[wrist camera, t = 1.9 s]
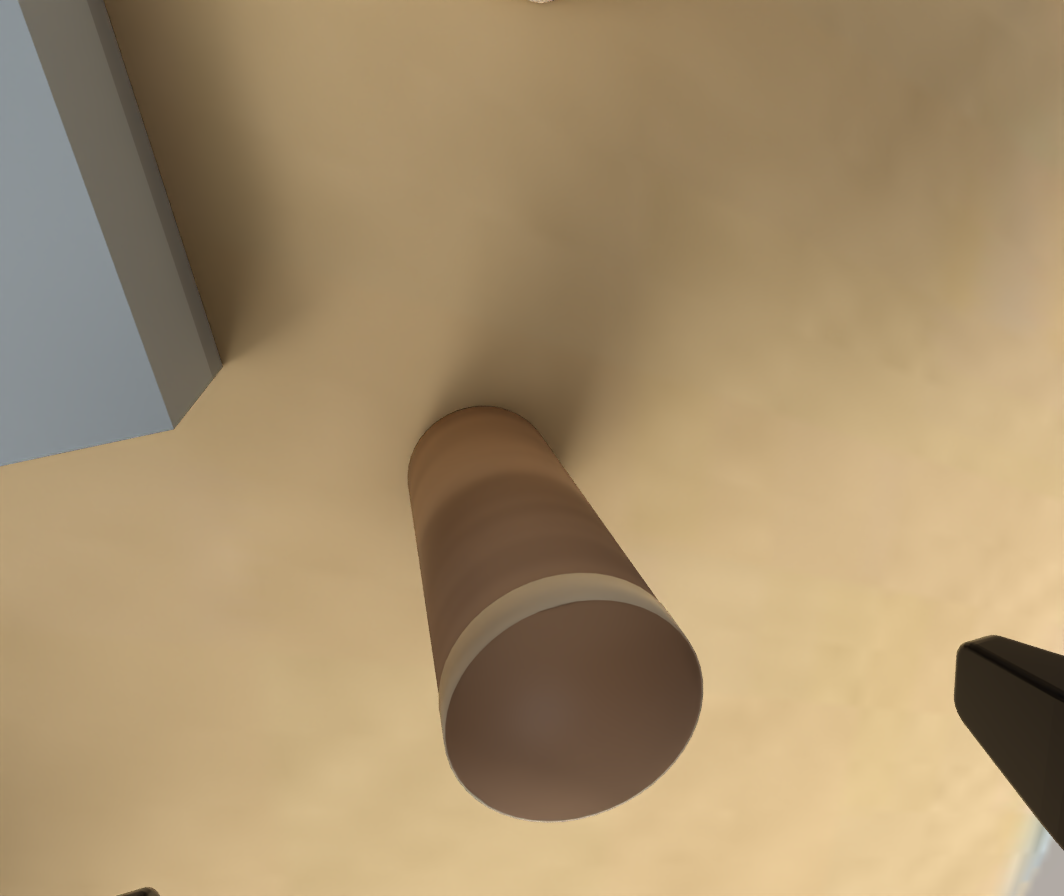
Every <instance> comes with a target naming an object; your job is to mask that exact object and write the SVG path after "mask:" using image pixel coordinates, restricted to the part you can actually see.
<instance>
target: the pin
mask: <svg viewBox="0 0 1064 896" xmlns="http://www.w3.org/2000/svg"><path fill="white" fill-rule="evenodd" d="M408 488H409V495H410V501H411V508H412V515H413V522H414V529H415V536H416V542H417V549H418V556H419V563H420V570H421V577H422V583H423V590H424V597H425V604H426V611H427V618H428V625H429V631H430V638H431V645H432V652H433V659H434V666H435V672H436V679H437V686H438V693H439V711H440V718H441V725H442V732H443V739H444V745H445V751H446V755H447V758H448V761H449V764H450V767H451V769H452V771H453V772H454V774H455V776H456V778H457V779H458V781H459V782H460V783H461V785H462V786H463V787H464V788H465V789H466V791H467V792H468V793H470V794H471V795H472V796H473V797H474V798H475V799H476V800H478V801H479V802H481V803H482V804H484V805H485V806H487V807H488V808H490V809H492V810H494V811H496V812H499V813H501V814H503V815H506V816H510V817H513V818H516V819H521V820H527V821H533V822H564V821H571V820H578V819H582V818H586V817H590V816H594V815H597V814H600V813H602V812H605V811H608V810H611V809H613V808H615V807H617V806H619V805H621V804H623V803H625V802H627V801H629V800H630V799H632V798H634V797H635V796H637V795H639V794H640V793H642V792H643V791H644V790H646V789H647V788H648V787H650V786H651V785H652V784H654V783H655V782H656V781H657V780H658V779H659V778H660V777H661V776H662V775H664V774H665V773H666V771H667V770H668V769H669V768H670V767H671V766H672V765H673V764H674V763H675V761H676V760H677V759H678V757H679V756H680V754H681V753H682V752H683V750H684V749H685V747H686V745H687V744H688V742H689V740H690V738H691V737H692V734H693V732H694V729H695V727H696V725H697V722H698V719H699V715H700V711H701V707H702V699H703V678H702V672H701V667H700V664H699V661H698V658H697V655H696V653H695V651H694V649H693V647H692V646H691V644H690V642H689V641H688V639H687V638H686V636H685V635H684V634H683V632H682V631H681V629H680V628H679V627H678V625H677V624H676V622H675V621H674V620H673V618H672V617H671V615H670V614H669V613H668V611H667V610H666V609H665V608H664V606H663V605H662V604H661V603H660V602H659V601H658V600H657V598H656V597H655V595H654V594H653V593H652V591H651V590H650V588H649V587H648V586H647V584H646V583H645V581H644V580H643V579H642V577H641V576H640V574H639V573H638V572H637V570H636V569H635V567H634V566H633V564H632V563H631V562H630V560H629V559H628V557H627V556H626V555H625V553H624V552H623V550H622V549H621V548H620V546H619V545H618V543H617V542H616V541H615V539H614V538H613V536H612V535H611V533H610V532H609V531H608V529H607V528H606V526H605V525H604V524H603V522H602V521H601V519H600V518H599V517H598V515H597V514H596V512H595V511H594V510H593V508H592V507H591V505H590V504H589V502H588V501H587V500H586V498H585V497H584V495H583V494H582V493H581V491H580V490H579V488H578V487H577V486H576V484H575V483H574V481H573V480H572V479H571V477H570V476H569V474H568V473H567V471H566V470H565V469H564V467H563V466H562V464H561V463H560V462H559V460H558V459H557V457H556V456H555V455H554V453H553V452H552V450H551V449H550V448H549V446H548V445H547V443H546V442H545V440H544V439H543V438H542V436H541V435H540V434H539V432H538V431H537V430H536V428H535V427H534V426H533V425H531V424H530V423H529V422H528V421H527V420H525V419H524V418H523V417H521V416H519V415H517V414H516V413H514V412H511V411H508V410H506V409H502V408H498V407H490V406H476V407H470V408H465V409H462V410H458V411H456V412H453V413H451V414H449V415H447V416H445V417H443V418H442V419H440V420H439V421H437V422H436V423H435V424H434V425H432V426H431V427H430V428H429V429H428V430H427V431H426V432H425V433H424V435H423V436H422V437H421V439H420V440H419V442H418V443H417V445H416V447H415V449H414V451H413V453H412V456H411V459H410V463H409V468H408Z"/></svg>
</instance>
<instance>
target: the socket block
mask: <svg viewBox="0 0 1064 896" xmlns="http://www.w3.org/2000/svg"><path fill="white" fill-rule="evenodd" d="M222 367H223V365H222V362H221V359H220V356H219V353H218V350H217V347H216V344H215V341H214V338H213V335H212V332H211V329H210V326H209V322H208V319H207V316H206V313H205V310H204V307H203V304H202V301H201V298H200V295H199V292H198V289H197V286H196V283H195V280H194V277H193V273H192V270H191V267H190V264H189V261H188V258H187V255H186V252H185V249H184V246H183V243H182V240H181V237H180V234H179V231H178V228H177V224H176V221H175V218H174V215H173V212H172V209H171V206H170V203H169V200H168V197H167V194H166V191H165V188H164V185H163V182H162V179H161V175H160V172H159V169H158V166H157V163H156V160H155V157H154V154H153V151H152V148H151V145H150V142H149V139H148V136H147V133H146V129H145V126H144V123H143V120H142V117H141V114H140V111H139V108H138V105H137V102H136V99H135V96H134V93H133V90H132V87H131V84H130V80H129V77H128V74H127V71H126V68H125V65H124V62H123V59H122V56H121V53H120V50H119V47H118V44H117V41H116V38H115V35H114V31H113V28H112V25H111V22H110V19H109V16H108V13H107V10H106V7H105V4H104V1H103V0H0V466H3V465H8V464H13V463H18V462H22V461H27V460H32V459H36V458H41V457H46V456H50V455H55V454H60V453H65V452H69V451H74V450H79V449H83V448H88V447H93V446H98V445H102V444H107V443H112V442H116V441H121V440H126V439H130V438H135V437H140V436H145V435H149V434H154V433H159V432H163V431H168V430H173V429H174V428H175V427H176V426H177V425H178V423H179V422H180V421H181V420H182V418H183V417H184V416H185V414H186V413H187V412H188V411H189V409H190V408H191V407H192V405H193V404H194V403H195V402H196V400H197V399H198V398H199V397H200V395H201V394H202V393H203V391H204V390H205V389H206V388H207V386H208V385H209V384H210V382H211V381H212V380H213V379H214V377H215V376H216V375H217V374H218V372H219V371H220V370H221V368H222Z"/></svg>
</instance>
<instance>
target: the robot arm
mask: <svg viewBox="0 0 1064 896" xmlns="http://www.w3.org/2000/svg"><path fill="white" fill-rule="evenodd" d="M954 702H955V707H956V709H957V712H958V714H959V716H960V718H961V720H962V721H963V723H964V724H965V725H966V727H967V728H968V729H969V731H970V732H971V733H972V734H973V736H974V737H975V738H976V740H977V741H978V742H979V744H980V745H981V746H982V747H983V749H984V750H985V751H986V753H987V754H988V755H989V757H990V758H991V759H992V760H993V762H994V763H995V764H996V766H997V767H998V768H999V769H1000V771H1001V772H1002V773H1003V775H1004V776H1005V777H1006V779H1007V780H1008V781H1009V782H1010V784H1011V785H1012V786H1013V788H1014V789H1015V790H1016V792H1017V793H1018V794H1019V795H1020V797H1021V798H1022V799H1023V801H1024V802H1025V803H1026V805H1027V806H1028V807H1029V808H1030V810H1031V811H1032V812H1033V814H1034V815H1035V816H1036V818H1037V819H1038V820H1039V821H1040V823H1041V824H1042V825H1043V826H1044V828H1045V829H1046V830H1047V831H1048V832H1049V834H1050V835H1051V836H1052V837H1053V839H1054V840H1055V841H1056V842H1057V843H1058V844H1059V846H1060V847H1061V848H1062V849H1063V850H1064V656H1063V655H1060V654H1056V653H1053V652H1050V651H1047V650H1044V649H1040V648H1037V647H1034V646H1031V645H1027V644H1024V643H1021V642H1018V641H1014V640H1011V639H1008V638H1005V637H1001V636H997V635H990V636H985V637H982V638H978V639H975V640H972V641H968V642H965V643H963V644H962V645H961V646H960V647H959V649H958V651H957V655H956V671H955V687H954ZM118 896H160V895H159V894H158V892H157V891H156V890H155V889H153V888H151V887H145V888H141V889H138V890H135V891H131V892H128V893H125V894H121V895H118Z"/></svg>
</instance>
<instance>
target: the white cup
mask: <svg viewBox="0 0 1064 896" xmlns="http://www.w3.org/2000/svg"><path fill="white" fill-rule="evenodd" d="M529 1H533V2H537V3H545V2H549V1H553V0H529Z"/></svg>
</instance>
